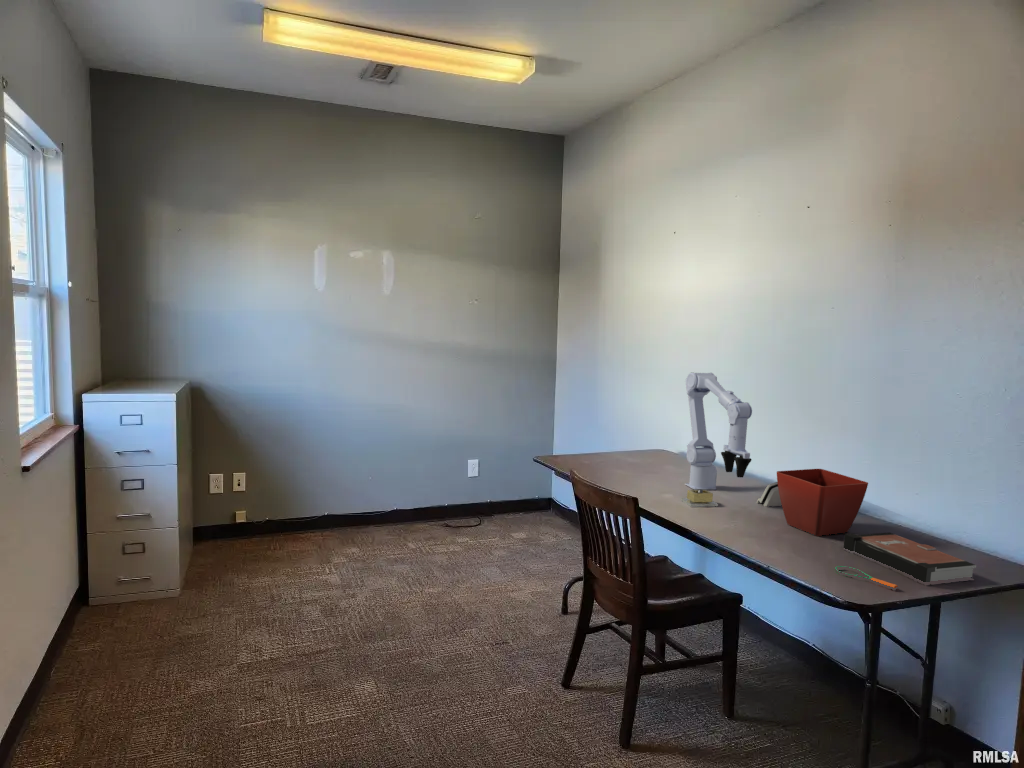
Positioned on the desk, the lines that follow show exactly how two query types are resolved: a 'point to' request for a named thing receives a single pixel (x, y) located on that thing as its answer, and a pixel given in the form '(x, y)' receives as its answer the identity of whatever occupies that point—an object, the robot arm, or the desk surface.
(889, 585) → the green orange wire loop
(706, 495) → the link
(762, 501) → the grey curved piece
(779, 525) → the desk surface
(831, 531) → the plant pot
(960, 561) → the book
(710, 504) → the keeper plate
